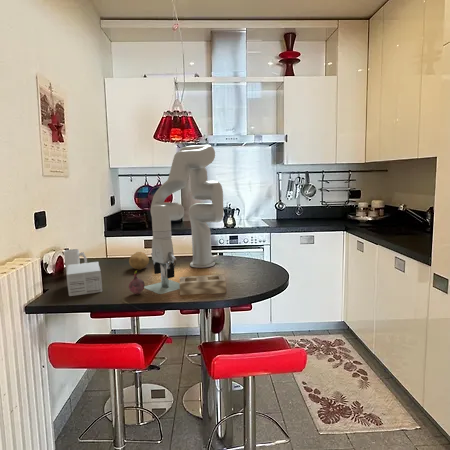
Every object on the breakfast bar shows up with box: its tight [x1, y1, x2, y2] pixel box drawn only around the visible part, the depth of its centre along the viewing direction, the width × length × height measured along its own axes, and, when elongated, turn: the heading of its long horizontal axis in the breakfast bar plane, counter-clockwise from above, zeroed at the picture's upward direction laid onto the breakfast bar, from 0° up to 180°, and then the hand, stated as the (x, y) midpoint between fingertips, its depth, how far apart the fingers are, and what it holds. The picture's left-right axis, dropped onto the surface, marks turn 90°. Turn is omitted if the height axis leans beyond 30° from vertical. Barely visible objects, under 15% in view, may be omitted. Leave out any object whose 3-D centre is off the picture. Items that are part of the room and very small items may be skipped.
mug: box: [63, 248, 88, 275], centre depth 183 cm, size 10×7×12 cm, turn 98°
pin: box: [160, 263, 170, 288], centre depth 158 cm, size 3×3×10 cm
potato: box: [128, 251, 150, 271], centre depth 190 cm, size 10×14×8 cm
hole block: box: [179, 273, 227, 296], centre depth 152 cm, size 18×9×5 cm, turn 97°
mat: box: [144, 279, 180, 295], centre depth 158 cm, size 14×14×1 cm
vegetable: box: [128, 270, 146, 296], centre depth 149 cm, size 6×6×10 cm
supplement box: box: [66, 261, 103, 297], centre depth 161 cm, size 17×13×9 cm
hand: (164, 275), depth 157 cm, fingers open, 9 cm apart
